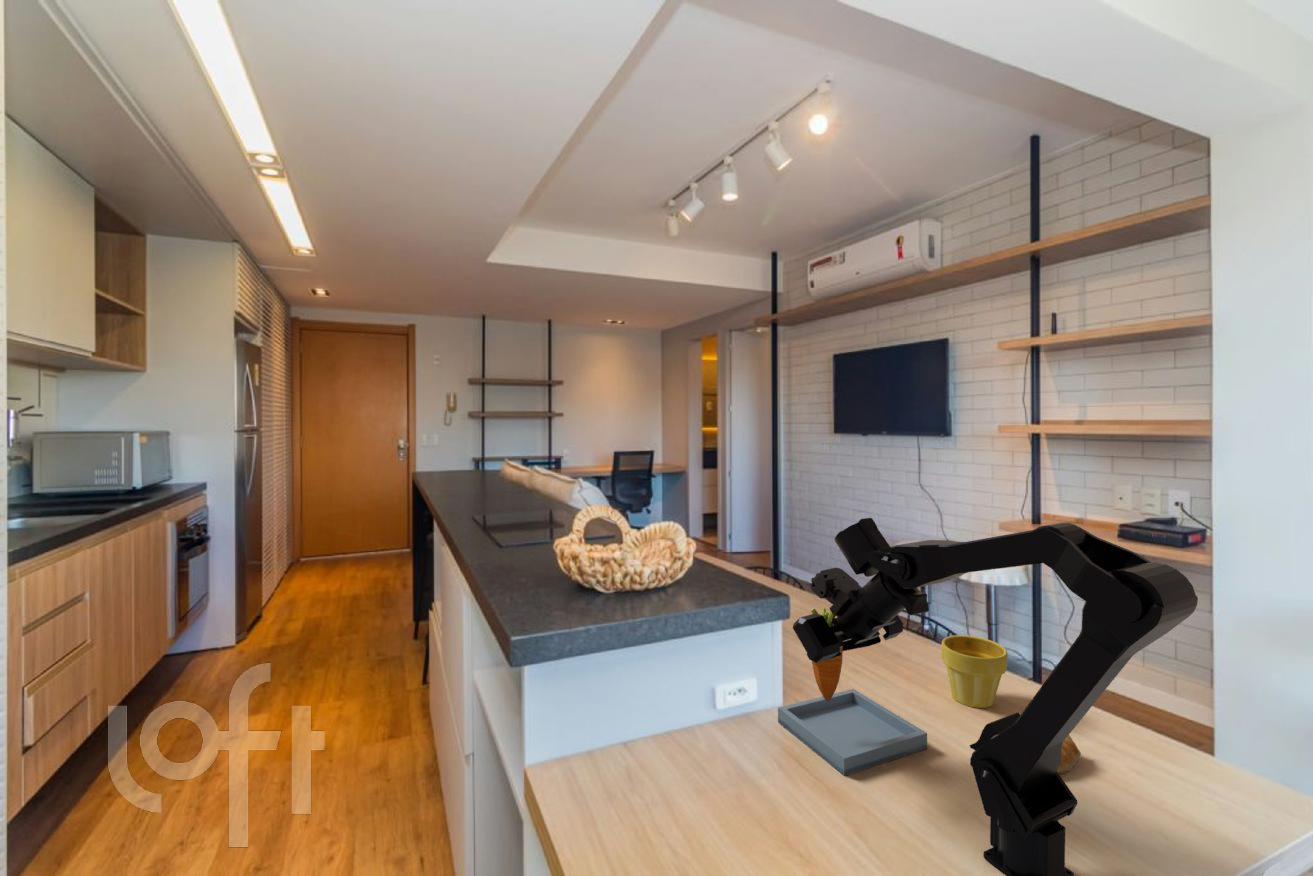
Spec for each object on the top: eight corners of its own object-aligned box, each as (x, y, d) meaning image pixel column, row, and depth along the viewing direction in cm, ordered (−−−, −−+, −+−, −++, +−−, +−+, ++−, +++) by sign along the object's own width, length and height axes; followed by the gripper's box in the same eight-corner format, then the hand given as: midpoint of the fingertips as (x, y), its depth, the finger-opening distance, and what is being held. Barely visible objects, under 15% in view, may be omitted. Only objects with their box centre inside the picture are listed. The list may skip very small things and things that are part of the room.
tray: (927, 749, 91) (927, 733, 91) (844, 775, 84) (844, 758, 84) (853, 702, 105) (853, 688, 105) (778, 722, 99) (778, 707, 99)
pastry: (1066, 787, 82) (1066, 760, 81) (1011, 767, 86) (1011, 741, 86) (1082, 759, 88) (1082, 734, 88) (1030, 741, 93) (1030, 717, 93)
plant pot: (1014, 717, 100) (1015, 660, 99) (947, 710, 102) (948, 654, 102) (996, 689, 110) (997, 637, 109) (935, 683, 112) (936, 632, 112)
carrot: (805, 700, 94) (803, 606, 94) (823, 690, 97) (821, 599, 97) (832, 711, 90) (830, 614, 90) (850, 701, 93) (848, 606, 93)
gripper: (886, 547, 95) (832, 599, 104) (801, 564, 85) (751, 619, 94) (932, 609, 88) (870, 658, 98) (846, 635, 78) (787, 687, 88)
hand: (820, 653), depth 95 cm, fingers closed on carrot, 5 cm apart
